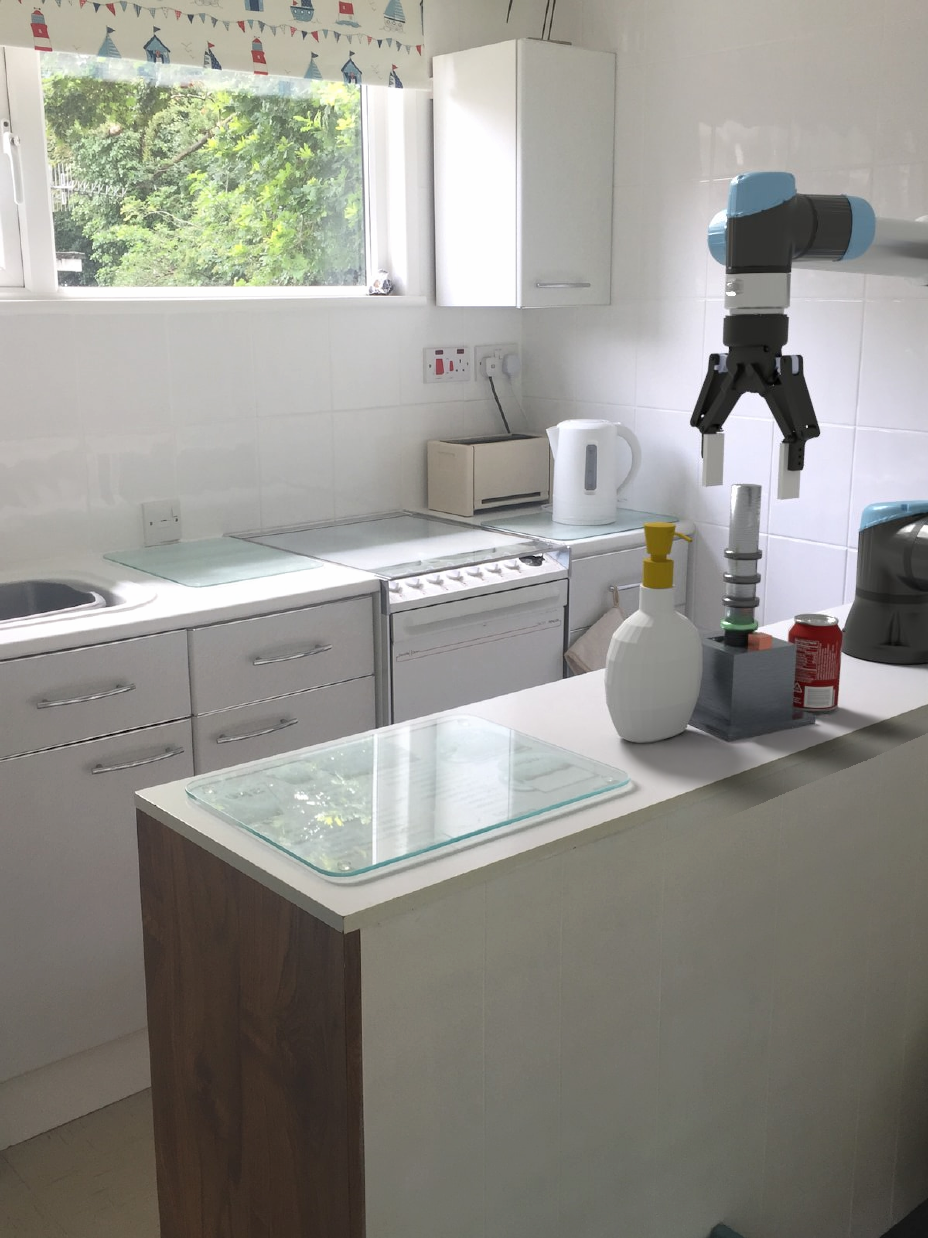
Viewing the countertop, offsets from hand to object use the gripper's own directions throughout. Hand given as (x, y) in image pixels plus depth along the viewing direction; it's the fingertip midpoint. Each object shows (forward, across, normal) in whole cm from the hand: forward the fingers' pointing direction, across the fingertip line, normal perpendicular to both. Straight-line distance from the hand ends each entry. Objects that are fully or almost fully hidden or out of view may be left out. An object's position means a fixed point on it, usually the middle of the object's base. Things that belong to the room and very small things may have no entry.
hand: (748, 492), depth 147 cm
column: (+20, 0, -1) cm, 20 cm away
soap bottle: (+29, +1, -14) cm, 32 cm away
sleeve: (+29, 0, -1) cm, 29 cm away
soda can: (+29, +2, +10) cm, 31 cm away
